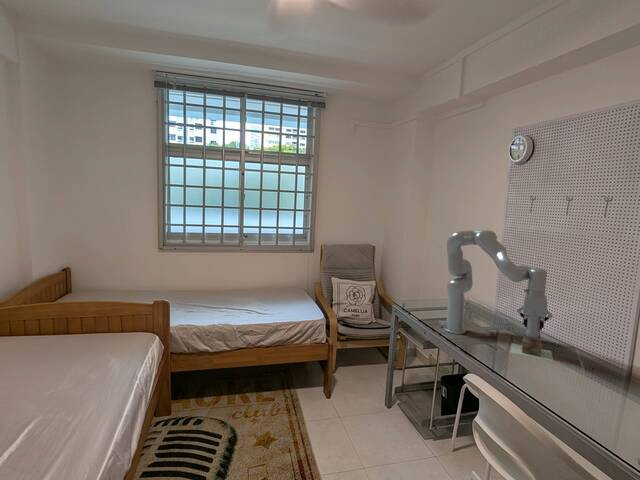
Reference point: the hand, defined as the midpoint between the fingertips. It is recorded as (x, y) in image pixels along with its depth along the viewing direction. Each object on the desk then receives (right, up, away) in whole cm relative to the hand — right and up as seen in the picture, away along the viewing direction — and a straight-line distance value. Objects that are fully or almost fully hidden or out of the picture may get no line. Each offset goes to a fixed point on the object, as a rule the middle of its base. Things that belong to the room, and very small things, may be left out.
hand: (533, 327), depth 172 cm
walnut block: (0, -13, +2) cm, 13 cm away
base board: (0, -14, +2) cm, 14 cm away
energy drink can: (0, -5, +1) cm, 5 cm away
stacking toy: (+10, -12, +17) cm, 23 cm away
